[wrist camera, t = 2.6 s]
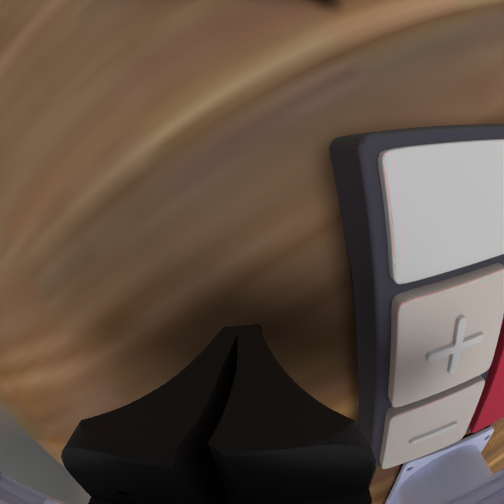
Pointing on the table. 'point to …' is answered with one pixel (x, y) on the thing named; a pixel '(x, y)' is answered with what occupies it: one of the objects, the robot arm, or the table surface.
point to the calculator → (425, 282)
